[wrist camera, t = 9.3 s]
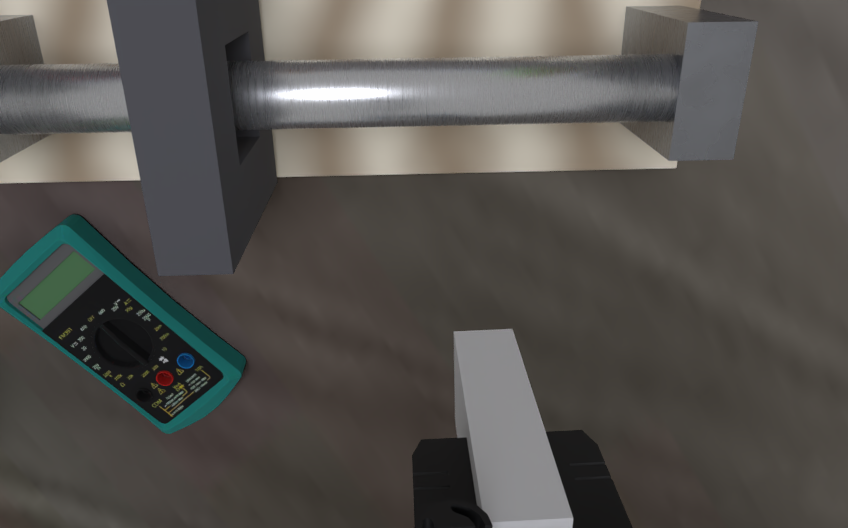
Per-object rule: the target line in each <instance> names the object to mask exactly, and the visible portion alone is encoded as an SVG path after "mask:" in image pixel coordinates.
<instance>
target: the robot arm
mask: <svg viewBox="0 0 848 528" xmlns="http://www.w3.org/2000/svg"><path fill="white" fill-rule="evenodd" d="M454 385H455V424H456V431H457V438H444V439H424V440H421V441H420V443H419V444H418V446H417V448H416V450H415V452H414V453H413V455H412V461H413V489H414V517H415V528H632V525H631V523H630V521H629V518H628V516H627V514H626V511H625V509H624V506H623V504H622V502H621V499H620V497H619V495H618V492H617V490H616V487H615V485H614V483H613V480H612V479H611V476H610V473H609V471H608V469H607V466H606V465H605V461H604V459H603V457H602V454H601V452H600V450H599V447H598V445H597V444H596V443H595V442H594V441H593V440H592V439H591V438H590V437H589V436H588V435H586V434H585V433H584V432H583V431H582V430H574V431H554V432H545V429H544V425H543V422H542V419H541V416H540V413H539V410H538V407H537V404H536V401H535V398H534V394H533V391H532V388H531V385H530V382H529V379H528V376H527V373H526V370H525V367H524V363H523V360H522V357H521V354H520V351H519V348H518V345H517V342H516V339H515V335H514V332H513V329H498V330H476V331H455V332H454Z"/></svg>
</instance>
